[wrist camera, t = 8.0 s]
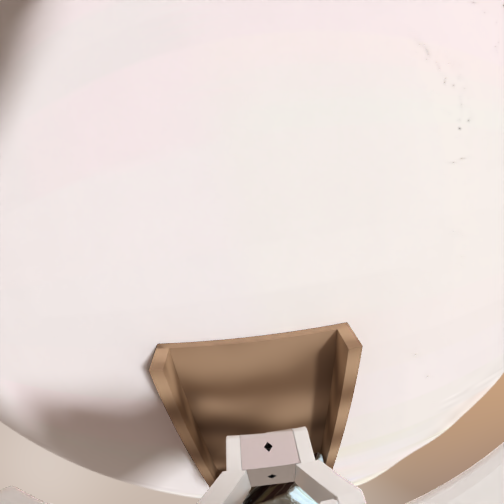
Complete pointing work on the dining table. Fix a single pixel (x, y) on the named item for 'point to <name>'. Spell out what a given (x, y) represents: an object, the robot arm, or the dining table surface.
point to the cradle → (258, 389)
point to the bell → (280, 493)
